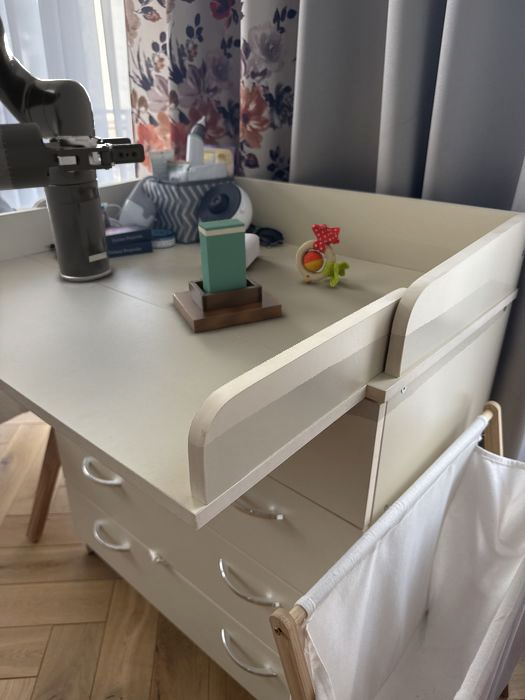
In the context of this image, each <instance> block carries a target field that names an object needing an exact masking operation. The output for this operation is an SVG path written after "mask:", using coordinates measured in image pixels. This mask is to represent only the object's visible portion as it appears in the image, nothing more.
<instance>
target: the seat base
mask: <svg viewBox="0 0 525 700" xmlns="http://www.w3.org/2000/svg"><path fill="white" fill-rule="evenodd" d="M246 280H247V287H244V288H238V289H232V290H225V291H219V292H213V293H207V294H205V293H204V292H203V278H202V279H195V280H189V281H188V290H186V291H185V290H184V291H180V292H173V293H172V301H173V306H174V307H175V309H176V310H177V311H178V312H179V314H180V315H181V316H182V318H183V319H184V321H185V322H186V323H187V325H188V326H189V327H190V329H191V330H192V331H193V333H200V332H205V331H211V330H215V329H222V328H227V327H231V326H237V325H238V326H239V325H242V324H248V323H253V322H258V321H264V320H270V319H274V318H275V319H276V318H279V317H282V304H281V303H280V302H279V301H278V300H276V299H275V298H274V297H273V296H271V294H269V293H268V292H267V291H265V290H264V289H263V286H262V285H261V284H260V283H259V282H257V281H256V280H255V279H253V278H252V277H251V276H250V275H249V274H247V273H246Z"/></svg>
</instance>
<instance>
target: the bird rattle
mask: <svg viewBox="0 0 525 700" xmlns="http://www.w3.org/2000/svg"><path fill="white" fill-rule="evenodd" d="M311 230H312V233H313V235H314V237H315V238H316V239H310V240H307V241H305V242H304V243H303V244H302V245H300V247H299V249H298V250H297V251H296V255H295V264H296V267H297V270H298V272H299V274H301V276H302V277H303V281H304V282H305V283H310V282H318V281H319V282H320V281H322V280H325V279H327V278H328V281H329V286H330V287H331V288H335V287H336V286H337V284H338V283H340V279H339V276H340V277H345V276H346V270H348V269H350V264H349V263H348V262H347V261H341V262H337V256H336V253H335V251H334V249H333V247H332V246H331V244H333V245H338V244H340V241H341V240H340V237H339V235H340V231H341V227H339V226H338V227H337V226H335V227H329V226H328V225H327V224H325V223H322V224H317V223H316V224H315V223H314V224H313V225H311ZM322 254H323V255H324V256H323V255H322ZM325 258H326V261H325V260H324V259H325ZM324 262H325V263H324ZM321 269H322V270H321Z"/></svg>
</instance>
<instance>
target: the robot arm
mask: <svg viewBox="0 0 525 700" xmlns="http://www.w3.org/2000/svg"><path fill="white" fill-rule="evenodd" d="M8 43H9V42H8V38H7V33H6V29H5V25H4V21H3V19H2V16H1V15H0V103H1V104H2V105H3V106H4V107H5V108H6V109H7V111H8V112H9V113H10V114H11V116H12V117H13V118H14V119H15V120H16V121H17V122H16V123H0V192H1V191H13V190H14V191H15V190H24V189H26V190H27V189H35V188H36V189H37V188H43V192H44V197H45V202H46V207H47V211H48V218H49V222H50V227H51V228H50V229H51V233H52V236H53V238H52V239H53V241H54V243H55V245H54V244H51V243H50V245H49V247H50V248H55V252H56V253H55V254H56V259H57V264H58V268H59V275H60V278H61V279H62V280H64V281H68V282H77V283H78V282H79V283H81V282H90V281H96V280H100V279H103V278H105V277H107V276H109V275H110V274H111V273H112V271H113V270H112V266H111V261H110V254H109V247H108V241H107V234H106V228H105V221H104V214H103V208H102V201H101V195H100V189H99V188H100V187H99V182H98V176H97V170H105V171H109V170H111V169H113V167H115V166H116V165H126V164H140V163H144V162H145V160H146V155H145V146H144V144H142V143H139V142H137V143H132V139H131V138H129V137H127V136H125V137H124V136H121V137H106V138H105V137H104V138H102V137H99V136H96V127H95V117H94V110H93V104H92V101H91V99H90V95H89V93H88V92H87V90H86V88H85V87H84V86H83V85H82V84H81V83H80V82H78V81H77V80H74V79H60V78H59V79H40V78H38V77H36V76H34V75H33V74H32V73H31V72H30V71H28V69H26V68H25V67H24V65H22V64H21V63H20V61H19V60H18V59H17V58H16V57H15V56H14V54H13V53H12V51H11V49H10V47H9V44H8ZM44 140H48V142H44Z"/></svg>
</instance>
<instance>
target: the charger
mask: <svg viewBox="0 0 525 700" xmlns="http://www.w3.org/2000/svg"><path fill="white" fill-rule="evenodd" d="M245 250H246V269H248V267H249V266H250V265H251V264H252V263H253V262H254V261H255V259H257V257H258V256H259V255H260V237H259V236H258V235H257V234H254V233H246V232H245Z"/></svg>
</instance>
